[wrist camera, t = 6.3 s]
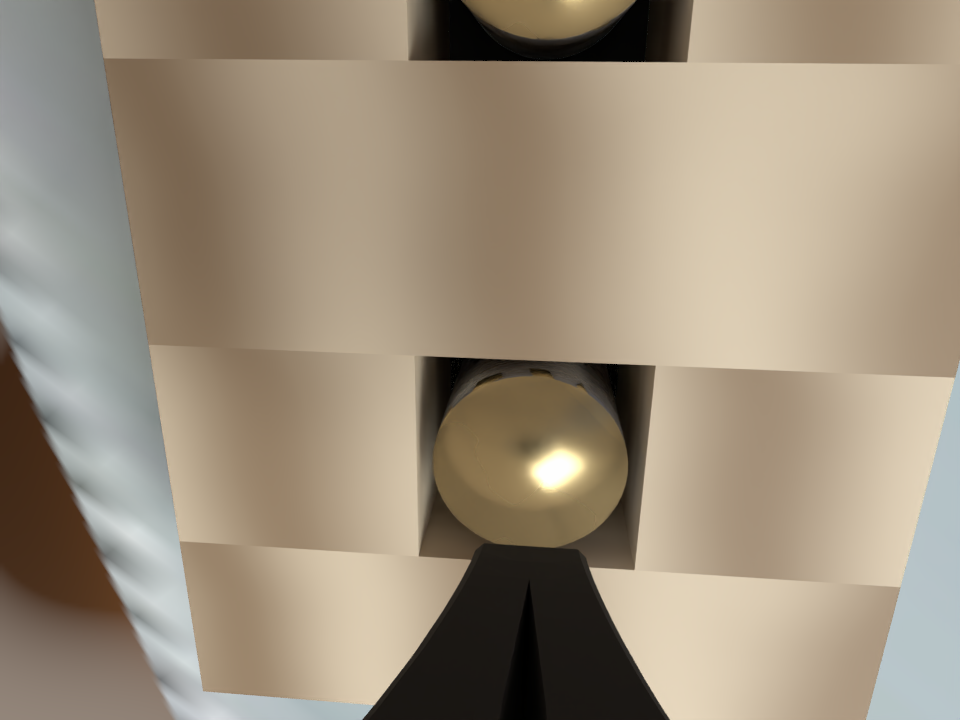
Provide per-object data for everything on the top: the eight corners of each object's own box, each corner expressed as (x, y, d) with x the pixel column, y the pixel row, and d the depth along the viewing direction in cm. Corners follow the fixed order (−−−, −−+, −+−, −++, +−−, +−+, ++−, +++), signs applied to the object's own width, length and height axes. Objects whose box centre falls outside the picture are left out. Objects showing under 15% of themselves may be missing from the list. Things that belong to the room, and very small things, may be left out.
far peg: (613, 310, 16) (636, 380, 12) (602, 448, 18) (619, 555, 13) (460, 305, 17) (431, 371, 12) (460, 441, 18) (433, 544, 14)
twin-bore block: (976, -432, 12) (1256, -783, 7) (781, 588, 19) (859, 744, 14) (188, -395, 13) (-14, -680, 8) (282, 555, 20) (203, 690, 15)
